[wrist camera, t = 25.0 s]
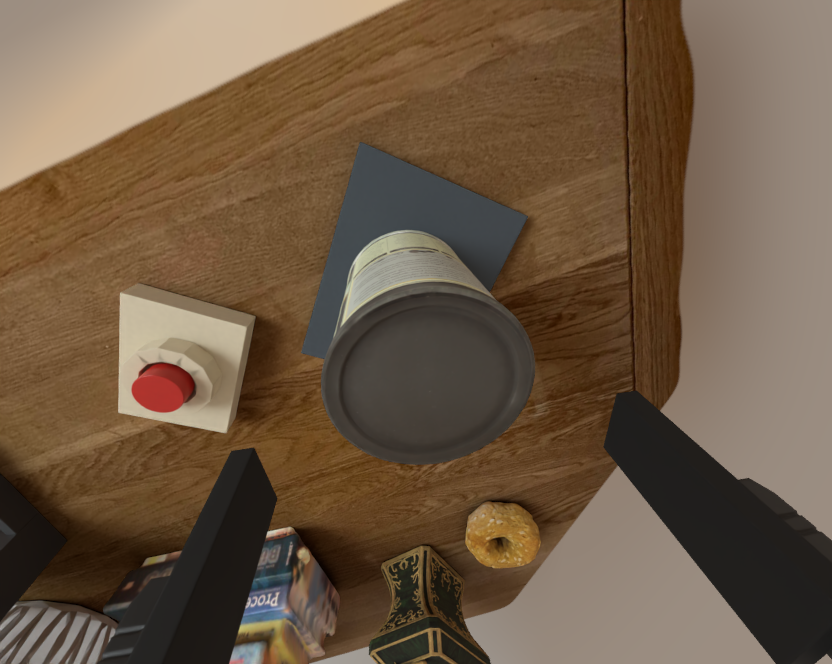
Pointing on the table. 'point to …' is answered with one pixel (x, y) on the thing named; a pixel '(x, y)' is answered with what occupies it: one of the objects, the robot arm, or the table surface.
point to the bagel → (502, 535)
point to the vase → (53, 634)
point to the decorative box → (424, 614)
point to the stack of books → (264, 602)
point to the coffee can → (423, 355)
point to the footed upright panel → (22, 545)
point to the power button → (163, 388)
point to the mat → (407, 210)
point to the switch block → (184, 353)
